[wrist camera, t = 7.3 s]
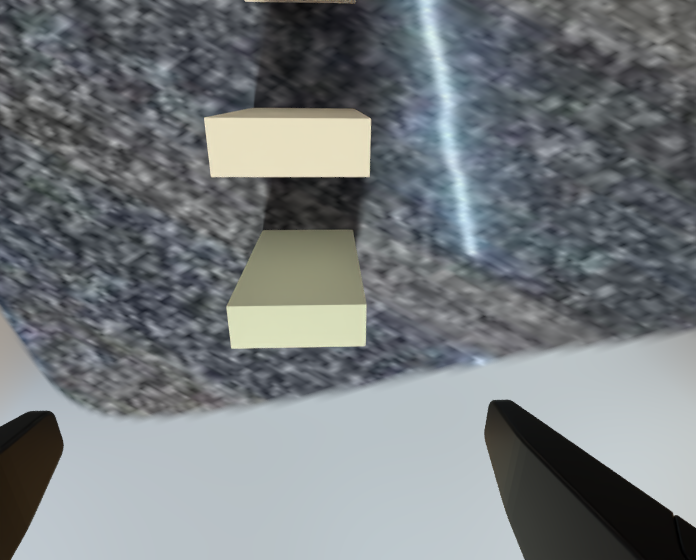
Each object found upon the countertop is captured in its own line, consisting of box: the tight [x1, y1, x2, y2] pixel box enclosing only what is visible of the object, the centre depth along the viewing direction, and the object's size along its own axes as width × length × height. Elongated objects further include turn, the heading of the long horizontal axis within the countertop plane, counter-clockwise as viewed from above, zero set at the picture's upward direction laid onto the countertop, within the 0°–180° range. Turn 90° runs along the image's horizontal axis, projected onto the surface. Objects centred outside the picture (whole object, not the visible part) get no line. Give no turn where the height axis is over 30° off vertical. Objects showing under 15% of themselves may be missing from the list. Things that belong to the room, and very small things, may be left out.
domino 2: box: [226, 230, 366, 349], centre depth 16 cm, size 4×1×8 cm, turn 90°
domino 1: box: [204, 108, 371, 177], centre depth 14 cm, size 4×1×8 cm, turn 90°
